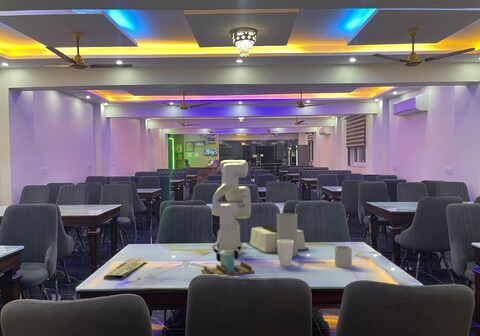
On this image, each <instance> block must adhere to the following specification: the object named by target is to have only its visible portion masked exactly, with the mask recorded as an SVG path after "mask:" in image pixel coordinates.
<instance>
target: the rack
mask: <svg viewBox="0 0 480 336" xmlns="http://www.w3.org/2000/svg"><path fill="white" fill-rule="evenodd" d="M239 263H240V264H236V265H235V264H234V272H231V273H227V270H226V269H224V268H223V267H221V264H216V267H214V268H213V267H211V268H209V267H207V265H204V266H203V269H201V270H200V271H201V273H202V274H204V275H205V274H218V275H232V276H231V277H234V276H233V275H235V276H239V275H238V274H242V275H249V274H254V273H255V270H253V268H252V266H251V265H250V264H247V263H246V262H244V261H243V260H242V261H240V262H239ZM248 273H249V274H248Z"/></svg>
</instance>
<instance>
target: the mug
mask: <svg viewBox="0 0 480 336" xmlns="http://www.w3.org/2000/svg"><path fill="white" fill-rule="evenodd" d="M352 251H353V250H352V247H351V246H348V245H336V246H334V266H335V267H338V268H343V269H344V268H345V269H346V268H347V269H348V268H351V267H352V266H353V265H352V264H353V263H352V262H353V261H352V259H353V258H352Z"/></svg>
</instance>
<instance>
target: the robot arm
mask: <svg viewBox="0 0 480 336" xmlns="http://www.w3.org/2000/svg"><path fill="white" fill-rule="evenodd" d="M219 169H220V172H221V186H220V187H218V188H217V190H216V191H215V192H214V194H213V196H212V205H211V211H212V214H213V215H214V216H217V217H219V229H218V231H217V235H216V236H217V237H216V242H215V243H213V244H212V245H210V246H211V247H210V248H211V249H212V251H213V252H214V253H215V254H216V257H215V259H216V261H217V262H219V263H221V257H220V254H221V252H222V253H229V254H231V255H233V256H234V260H237V261H238V259H239V255H242V254H243V250H247V249H248V246H247V245H245V246H244V245H243V244H244V243H243V242H242V241H241V235H240V234H241V230H240V229H241V227H240V223H239V222H238V221H237V219H249V218H250V217H251V214H252V211H251V210H252V209H251V208H252V207H251V205H252V201H251V198H252V197H251V190H250V187H248V186H246V185H245V186H239V178H246V177H247V176H248V172H249V162H248V161H247V160H245V159H237V160H236V159H224V160H221V161H220V163H219ZM223 196H225V200H226V201H219V200H220V199H221V198H222V197H223ZM238 202H241V203H238Z"/></svg>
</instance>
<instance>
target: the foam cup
mask: <svg viewBox="0 0 480 336" xmlns="http://www.w3.org/2000/svg"><path fill="white" fill-rule="evenodd" d="M293 246H294V241H292V240H277V247H278V254H277V255H278V260H279V261H278V262H279V265H280V266H282V267H283V266H285V267H288V266H289V267H290V266H291V265H292V262H293V261H292V260H293V257H292V253H293Z"/></svg>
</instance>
